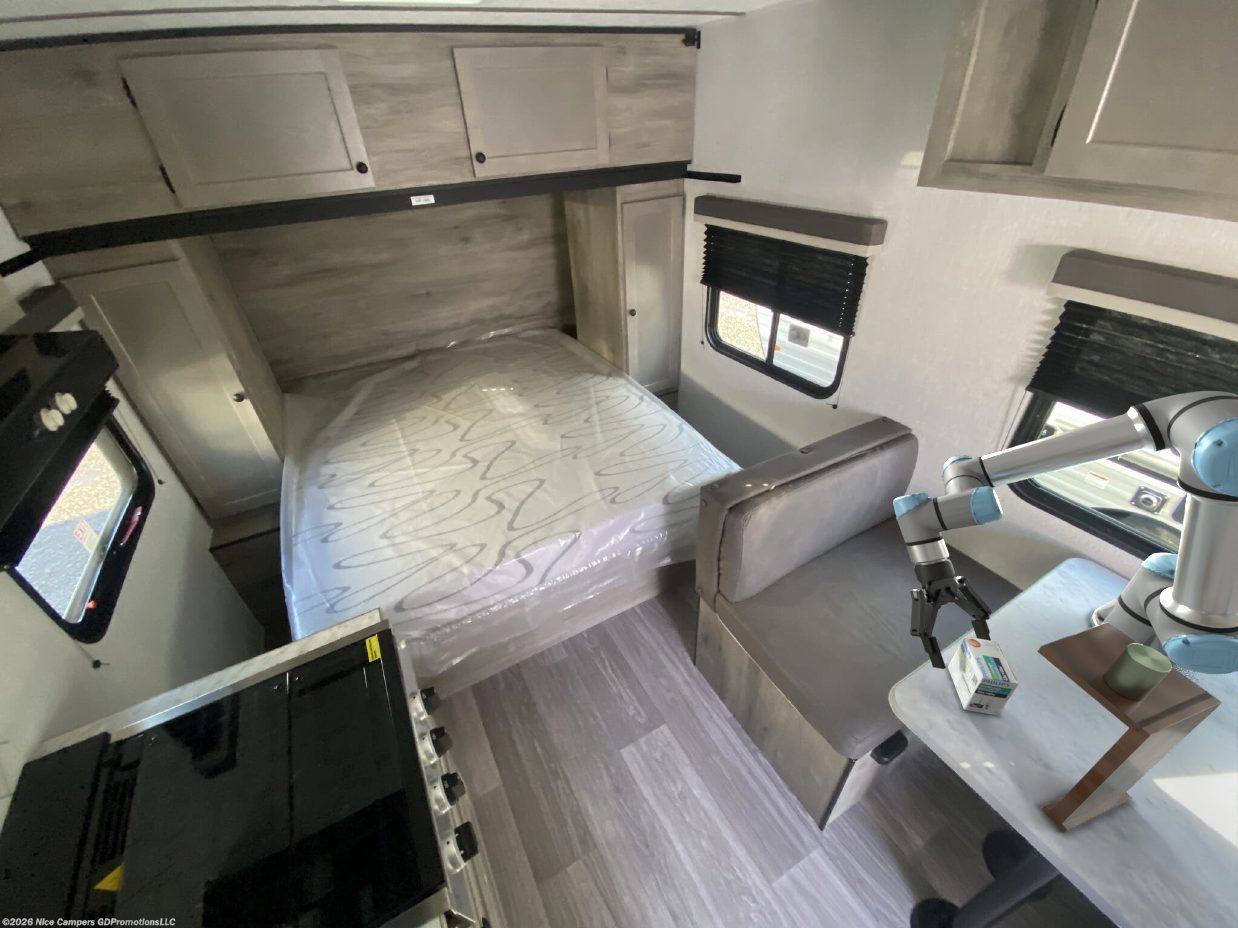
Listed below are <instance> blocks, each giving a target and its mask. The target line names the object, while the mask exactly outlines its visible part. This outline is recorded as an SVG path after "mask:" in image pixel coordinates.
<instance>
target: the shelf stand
mask: <svg viewBox="0 0 1238 928" xmlns="http://www.w3.org/2000/svg"><path fill="white" fill-rule="evenodd" d="M1037 653H1039V654H1040V655H1041V656H1042V657H1043V658H1044V659H1045V660H1046V661H1048V662H1049V663H1050V664H1052V665H1053V666H1054V667H1055V668H1056V669H1058V671H1060V672H1061V673H1062V674H1064V675H1065V676H1066V677H1067V678H1068V679H1070V680H1071V681H1072V682H1073V683H1075V684H1076V685H1077V686H1078V687H1079V688H1081V689H1082V690H1083V691H1084V692H1085V693H1087V694H1088V695H1089V696H1090V697H1091V698H1092V699H1094V700H1095V701H1096V702H1097V703H1098V704H1100V705H1101V706H1102V707H1103V708H1105V710H1107V711H1108V712H1110V714H1112V715H1113V716H1114V717H1115V718H1116V719H1118V720H1119V721H1120V722H1121V723H1123V724H1124V725H1125V726H1126V727H1127V728H1128V729H1127V730H1126V731H1125V732H1124V733H1123V734H1122V735H1121V736H1120V737H1119V738H1118V740H1117V741H1116V742H1115V743H1113V745H1111V747H1110V748H1109V749H1108V750H1107V751H1106V752H1105V753H1104V754H1103V755H1102V756H1101V757H1100V758H1099V759H1098V761H1097V762H1095V763H1094V765H1093V766H1092V767H1091V768H1090V769H1089V770H1088V771H1087V772H1086V773H1085V774H1084V775H1083V776H1082V778H1080V780H1078V781H1077V782H1076V783H1075V785H1073V787H1072V788H1071V789H1070V790H1068V792H1067V793H1066V794H1065V795H1064V796H1061V797H1059V798H1057V799H1055V800H1053V801H1051V802H1049V803H1047V804H1044V805H1043V806H1042V808H1041V810H1042V811H1043V812H1044V814H1046V815H1047V817H1049V819H1051V821H1052V822H1053V823H1054V824H1055V825H1056V826H1057V827H1058V828H1059V829H1060V831H1062V832H1063V833H1064V834H1066V833H1067V832H1069V831H1071V830H1073V829H1076V828H1078V827H1080V826H1082V825H1084V824H1086V823H1087V822H1091V820H1094V819H1096V818H1098V817H1100V816H1102V815H1104V814H1105V813H1108V812H1110V811H1112V810H1114V809H1116V808H1118V807H1120V806H1123V805H1125V804H1127V803H1128V802H1130V801H1131V800H1132V798H1133V797H1132V796H1131V795H1130V794H1128V793H1127V792H1128V791H1129V790H1130V789H1131V788H1132V787H1133V786H1135V784H1136V783H1138V782H1139V781H1140V780H1141V779H1142V778H1143V777H1144V776H1145V775H1146V774H1147V773H1148V772H1149V771H1150V770H1152V769H1153V768H1154V767H1156V765H1157V764H1158V763H1159V762H1161V760H1163V758H1165V757H1166V756H1167V755H1168V754H1169V753H1170V752H1171V751H1172V750H1173V749H1174V748H1175V747H1177V745H1178V744H1179V743H1181V742H1182V741H1183V740H1184V739H1185V738H1186V737H1187V736H1188V735H1190V733H1192V732H1193V731H1194V730H1195V729H1196V728H1197V727H1198V726H1200V724H1201V723H1202V722H1204V720H1206V719H1207V718H1208V717H1209V716H1210V715H1211V714H1212V713H1213V712H1214V711H1215V710H1216V709H1217V708H1218V707H1219V706H1221V705H1222V703H1223V701H1221V700H1220V699H1219V698H1217V697H1215V696H1214V695H1213V694H1211V693H1210V692H1208V691H1207V690H1205V689H1204V688H1203V687H1201V686H1200V685H1199V684H1197V683H1195V682H1194V681H1193V680H1191V679H1190V678H1188V677H1187V676H1185V675H1184V674H1182V673H1181V672H1180V671H1178V670H1177V669H1175V667H1173V664H1172V663H1171V661H1169V660H1168V659H1167V658H1166V657H1165V656H1164V655H1163V654H1161V653H1160V652H1158V651H1157V650H1155V649H1153V648H1151V647H1149V646H1146V645H1142V644H1138V643H1137V642H1136V641H1134V640H1133V639H1131V638H1130V637H1129V636H1127V635H1126V634H1124V633H1123V632H1121V631H1120V630H1119V629H1117V628H1116V627H1114V626H1113V625H1111V624H1110V623H1109V622H1107V623H1104V624H1101V625H1098V626H1095V627H1090V628H1087V629H1085V630H1082V631H1079V632H1075V633H1073V634H1071V635H1068V636H1065V637H1062V638H1059V639H1057V640H1054V641H1050V642H1048V643H1045V644H1043V645H1040V646H1039V648H1038V650H1037Z"/></svg>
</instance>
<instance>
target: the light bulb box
mask: <svg viewBox="0 0 1238 928" xmlns="http://www.w3.org/2000/svg"><path fill="white" fill-rule="evenodd" d="M947 669H948V671H949V674H950V676H951V679H952V682H953V684H954V687H955V691H956V692H957V695H958V697H959V700H960V703H961V707H963V710H964V711H969V712H974V713H975V712H976V713H981V714H987V715H992V716H999V715H1000V713H1001V712H1002V710H1003V708H1005V706H1006V704H1007V702H1008V701H1009V699H1010V698H1011V696H1012V695H1013V694H1014V692H1015V691H1016V689H1017V688H1018V686H1019V684H1020V683H1019V682H1018V680H1017V678H1016V675H1015V674H1014V673H1013V670H1012V669H1011V667H1010V666H1009V663H1008V661H1007V659H1006V657H1005V655H1004V653H1003V651H1002V649H1001V647H1000V645H999V643H998V641H996V640H992V639H991V640H984V639H978V638H977V637H971V636H963V638H962V640H961V642H960V643H959V646H958V648H957V649H956V652H955V653H954V655H953V657H952V659H951V661H950V662H949V664H948V666H947Z"/></svg>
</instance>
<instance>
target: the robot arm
mask: <svg viewBox="0 0 1238 928" xmlns="http://www.w3.org/2000/svg"><path fill="white" fill-rule="evenodd" d="M1169 449H1176V451H1177V452H1178V453H1179V466H1178V472H1177V478H1176V484H1177V486H1178V488H1179V489H1181V491H1183V492H1185V493H1186V494H1187V495H1186V496H1187V497H1186V502H1185V507H1184V508H1185V509H1184V514H1183V521H1182V526H1181V527H1182V528H1181V533H1180V540H1179V547H1178V553H1177V554H1175V553H1168V552H1158V553H1152V554H1151V555H1149V556H1148V557H1147V558H1146V559H1145V560H1144V561H1143V562H1142V563H1141V564H1140V567H1139V568H1138V569H1137V571H1136V572H1135V573H1134V575H1133V576H1132V577H1131V579H1130V580H1129V581H1128V583H1127V584H1126V586H1125V587H1124V589H1122V591H1121V593H1120V594H1119V595H1118V597H1116V598H1114V599H1111V601H1109V602H1107V603H1105V604H1103V605H1101V606H1100V607H1098V608H1096V609H1095V610H1094V612H1093V613H1092V614H1091V616H1090V618H1089V619H1090V620H1089V621H1090V626H1091V628H1093V627H1095V626H1098V625H1101V624H1104V623H1107V622H1109V623H1110V624H1111V625H1113V626H1114V627H1116V628H1117V629H1119V630H1120V631H1121V632H1123V633H1124V634H1126V635H1127V636H1129V637H1130V638H1131V639H1133V640H1134V641H1136V642H1137V643H1138V644H1142V645H1146V646H1149V647H1151V648H1153V649H1155V650H1157V651H1158V652H1160V653H1161V654H1163V655H1164V656H1165V657H1166V658H1167V659H1168V660H1169V661H1170V662H1173V664H1176V665H1177V666H1179V667H1180V668H1183V669H1185V670H1187V671H1191V672H1194V673H1197V674H1198V673H1200V674H1206V675H1227V674H1228V675H1229V674H1232V673H1235V672H1238V394H1236V393H1232V392H1226V391H1221V390H1201V391H1193V392H1192V391H1190V392H1185V393H1178V394H1173V395H1168V396H1164V397H1162V398H1161V397H1159V398H1156V399H1152V400H1149V401H1145V402H1142V403H1139V404H1136V405H1133V406H1130V407H1129V409H1128V410H1127V412H1125V413H1124V414H1120V415H1117V416H1113V417H1110V418H1107V419H1103V420H1100V421H1096V422H1094V423H1090V424H1087V425H1083V426H1080V427H1076V428H1073V429H1070V430H1066V431H1063V432H1059V433H1056V434H1052V435H1049V436H1046V437H1042V438H1039V439H1036V440H1033V441H1029V442H1026V443H1025V442H1024V443H1022V444H1019V445H1015V446H1011V447H1008V448H1005V449H1002V450H998V451H995V452H990V453H988V454H985V455H981V456H977V457H973V456H970V455H967V454H965V455H964V454H957V455H954V456H951V457H949V459H947V460H946V461H945V463H944V464H943V467H942V475H941V477H942V482H943V488H944V495H940V496H936V497H930V496H929V494H928V493H927V492H926V491H919V492H915V493H912V494H911V493H910V494H907V495H903V496H898V497H896V498H894V499H893V501H892V505H893V509H894V513H895V516H896V517H895V519H896V521H897V523H898V526H899V529H900V532H901V535H902V537H903V540H904V544H905V547H906V550H907V552H908V556H909V558H910V562H911V563H912V564H914V565H913V567H912V568H913V571H914V575H915V577H916V580H917V582H919V583H920V584H921V585H920V586H921V588H920V589H911V590H910V591H909V592H910V593H909V594H910V597H911V613H910V614H911V615H910V630H909V631H910V632H909V633H910V635H911V636H912V637H917V638H918V637H919V638H920V640H921V642H922V647H923V649H924V651H925V653H926V654H928V657H929V660H930V663H931V666H932V668H935V669H939V670H945V669H946V668H947V666H946V663H945V660H944V657H943V655H942V652H941V648H940V645H939V642H938V639H937V637H936V636H935V635H934V636H933V631H934V627H935V624H936V621H937V617H938V613H939V610H941V608H942V606H945V605H947V604H948V603H953V604H955V605H957V607H959V608H960V609H961V610H963V612H965V613H966V614H968V615H969V616H970V617H972V620H971V619H970V622H971V625H972V628H973V631H974V634H975V638H978V639H984V640H991V641H992V639H991V636H990V633H991V630H990V628H989V625H988V623H987V620H990V618H991V617H990V615H992V612H993V611H992V609H991V608H990V607H989V605H988V604H987V603H986V602H985V601H984V600H983V598H982V597H981V596H980V595H979V594H978V592H977V591H976V590H975V589H974V588H973V586H972V585H971V583H970V581H969V579H968V577H967V576H965V575H963V576H959V575H958V576H956V571H955V569H954V566H953V565H954V564H953V563H952V560H951V559H949V557H950V553H949V550H948V548H947V546H946V543H945V540H944V537H943V535H942V532H946V531H951V530H956V529H964V528H969V527H974V526H983V525H985V524H988V523H994V522H997V521H1000V520H1001V519H1003V517H1004V512H1003V509H1002V507H1001V503H1000V500H999V498H998V495H997V493H996V491H995V489H994V488H996V487H1000V486H1005V485H1008V484H1012V483H1016V482H1021V481H1024V480H1028V479H1032V478H1036V477H1039V476H1044V475H1047V474H1051V473H1055V472H1060V471H1065V470H1067V469H1071V468H1075V467H1079V466H1083V465H1088V464H1091V463H1095V462H1098V461H1103V460H1106V459H1110V458H1114V457H1118V456H1122V455H1126V454H1130V453H1131V454H1132V453H1134V452H1137V451H1142V450H1145V451H1148V452H1150V453H1151V452H1152V453H1156V452H1161V451H1164V450H1169Z"/></svg>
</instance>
